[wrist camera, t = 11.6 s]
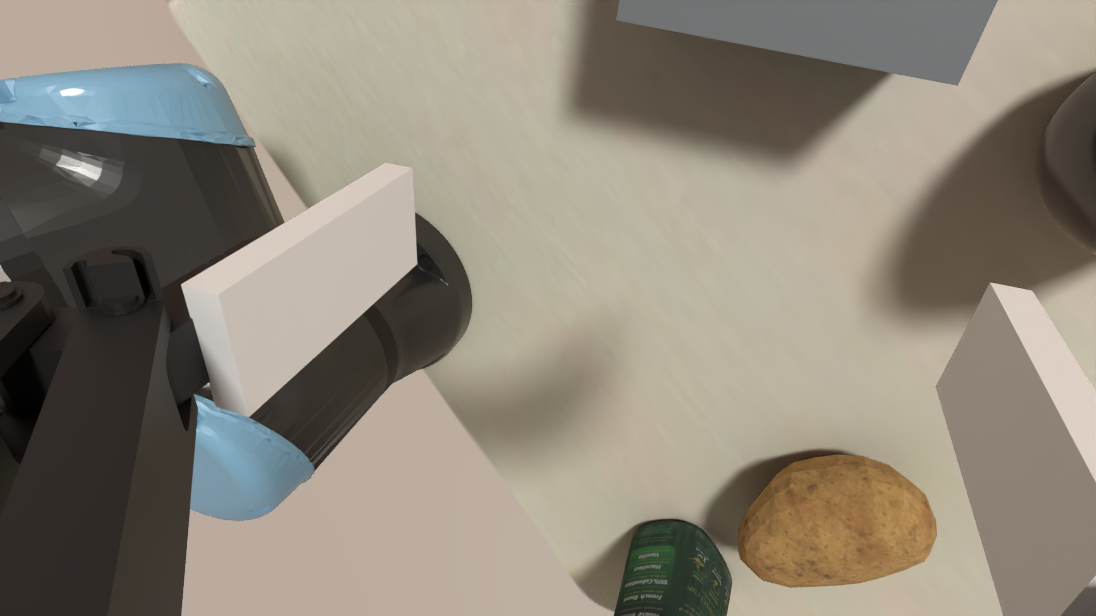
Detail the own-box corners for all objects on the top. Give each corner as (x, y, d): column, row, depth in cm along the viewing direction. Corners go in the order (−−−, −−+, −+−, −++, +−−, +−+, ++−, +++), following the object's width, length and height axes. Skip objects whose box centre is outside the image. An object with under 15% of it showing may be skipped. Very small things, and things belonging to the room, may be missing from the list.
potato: (713, 466, 52) (698, 544, 46) (881, 403, 44) (891, 486, 38) (782, 546, 54) (777, 631, 47) (956, 499, 46) (978, 594, 39)
